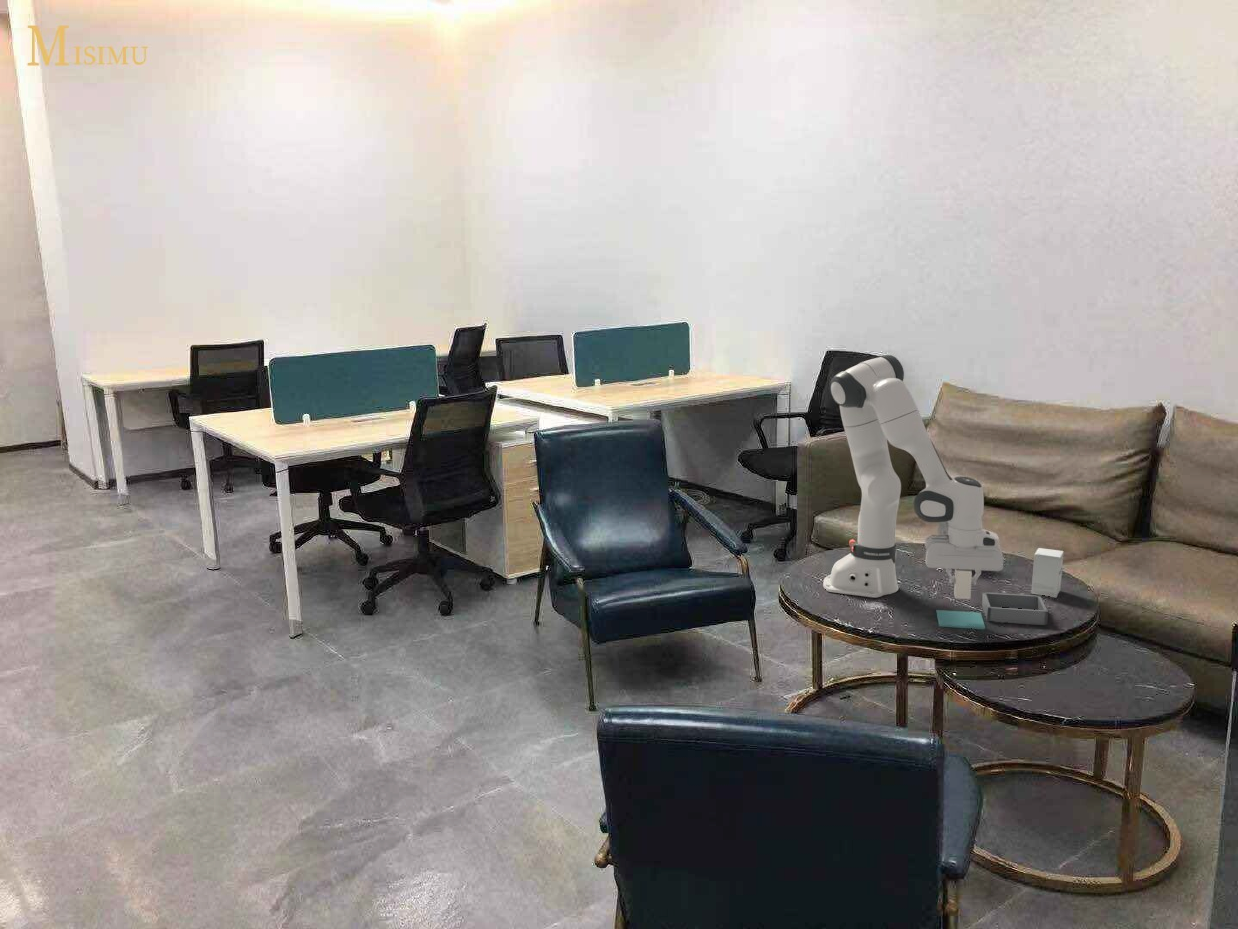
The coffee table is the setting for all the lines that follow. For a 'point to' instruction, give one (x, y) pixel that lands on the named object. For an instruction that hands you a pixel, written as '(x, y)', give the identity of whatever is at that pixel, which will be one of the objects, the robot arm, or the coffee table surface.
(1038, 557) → the supplement box
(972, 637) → the coffee table surface
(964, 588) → the block
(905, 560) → the coffee table surface
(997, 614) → the crate
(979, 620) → the mat
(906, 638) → the coffee table surface
